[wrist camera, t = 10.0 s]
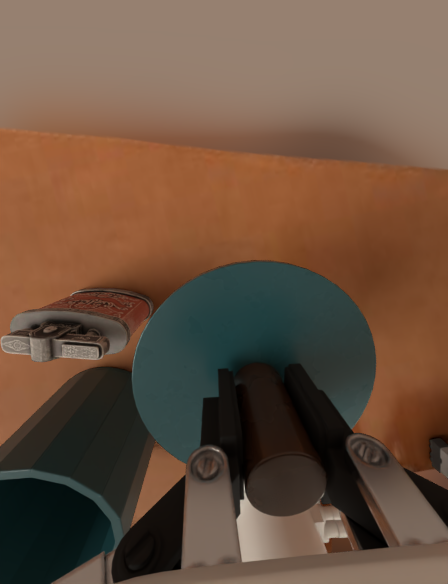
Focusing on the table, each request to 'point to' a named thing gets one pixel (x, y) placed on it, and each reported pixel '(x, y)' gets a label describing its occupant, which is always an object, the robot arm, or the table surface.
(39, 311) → the lighter
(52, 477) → the tin
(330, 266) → the table surface
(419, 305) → the table surface
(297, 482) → the tin lid
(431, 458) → the figurine
